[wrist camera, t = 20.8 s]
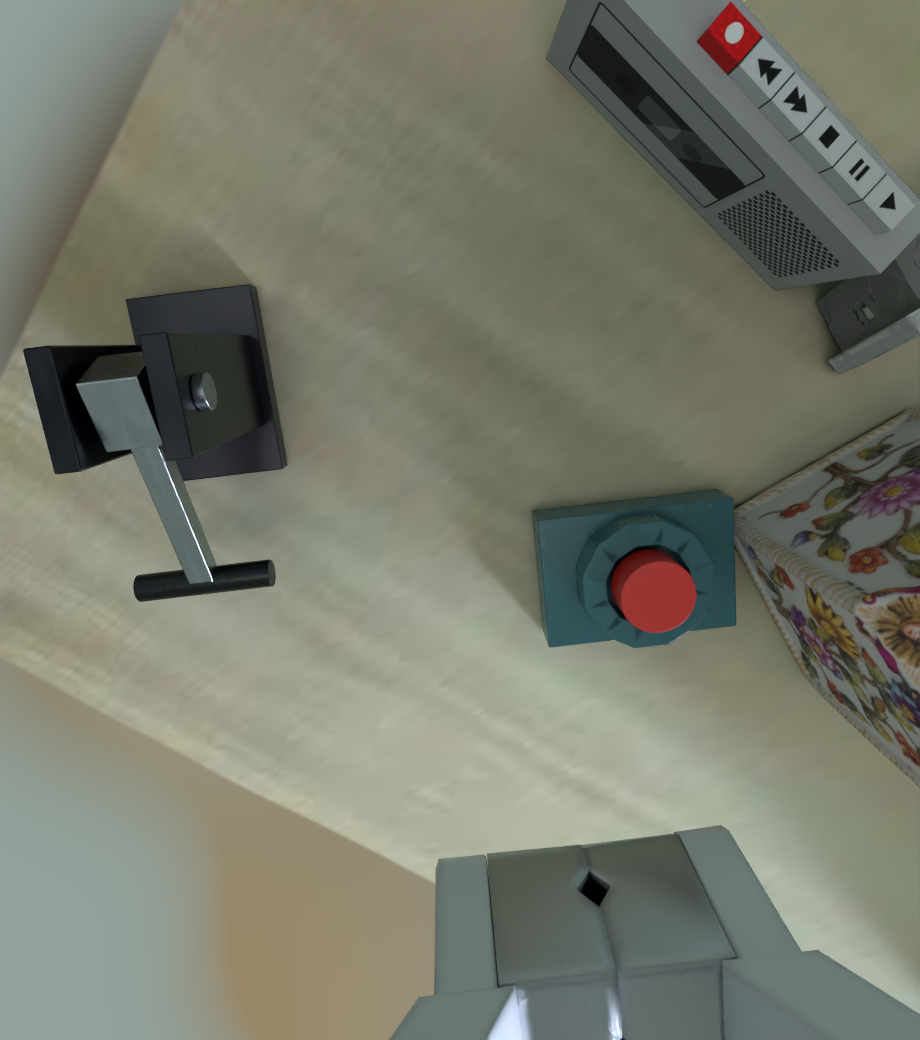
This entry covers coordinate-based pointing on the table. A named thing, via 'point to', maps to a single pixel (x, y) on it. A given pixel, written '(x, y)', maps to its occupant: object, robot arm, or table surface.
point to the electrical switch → (875, 310)
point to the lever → (159, 482)
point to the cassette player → (739, 135)
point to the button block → (613, 536)
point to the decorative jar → (849, 579)
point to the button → (653, 590)
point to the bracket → (176, 386)
